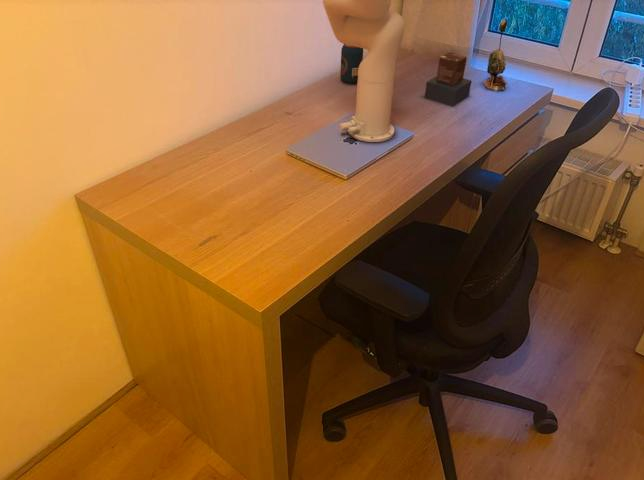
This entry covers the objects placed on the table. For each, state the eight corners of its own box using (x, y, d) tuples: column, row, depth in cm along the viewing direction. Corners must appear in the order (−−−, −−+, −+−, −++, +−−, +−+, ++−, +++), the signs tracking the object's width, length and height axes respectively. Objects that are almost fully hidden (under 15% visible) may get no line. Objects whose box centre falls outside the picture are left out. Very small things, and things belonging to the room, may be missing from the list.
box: (463, 81, 164) (467, 56, 159) (452, 86, 161) (457, 61, 156) (445, 75, 167) (450, 51, 162) (435, 81, 164) (439, 56, 159)
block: (452, 106, 162) (455, 90, 158) (424, 97, 167) (426, 81, 163) (468, 96, 168) (471, 80, 164) (440, 87, 172) (443, 72, 169)
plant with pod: (473, 88, 172) (487, 22, 159) (489, 78, 179) (504, 14, 166) (497, 95, 169) (513, 28, 155) (512, 84, 175) (529, 19, 162)
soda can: (337, 78, 177) (338, 41, 169) (356, 76, 179) (359, 39, 171) (344, 86, 172) (346, 48, 164) (364, 84, 174) (367, 46, 166)
